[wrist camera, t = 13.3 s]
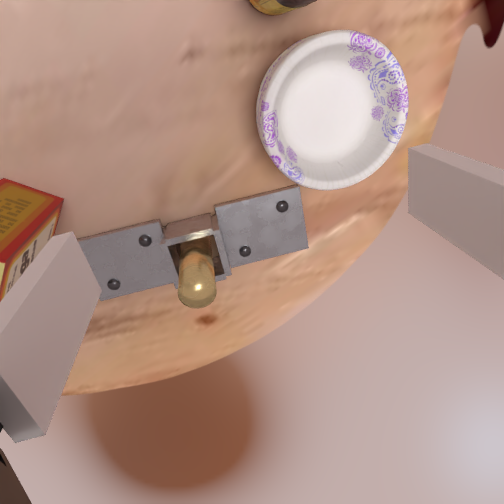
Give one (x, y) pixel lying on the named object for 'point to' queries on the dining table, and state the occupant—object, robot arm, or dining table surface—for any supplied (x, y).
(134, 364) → the dining table surface
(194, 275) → the hinge pin
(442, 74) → the dining table surface
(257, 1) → the sauce bottle
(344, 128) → the paper bowls
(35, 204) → the baking soda box
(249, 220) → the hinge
